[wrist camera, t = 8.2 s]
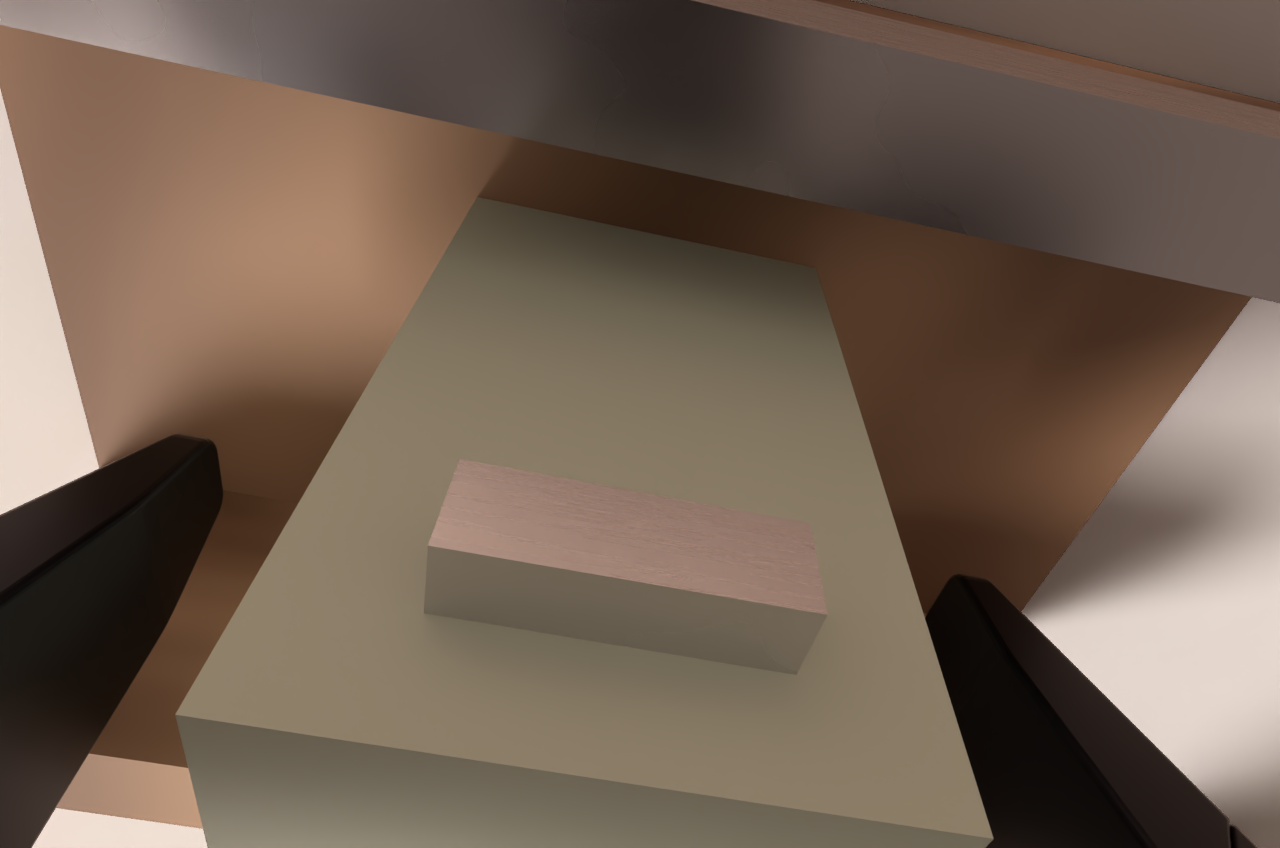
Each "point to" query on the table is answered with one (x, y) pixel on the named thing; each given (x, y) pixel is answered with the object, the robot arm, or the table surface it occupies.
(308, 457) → the cleat rack
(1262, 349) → the table surface
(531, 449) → the cabinet block
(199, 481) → the robot arm
